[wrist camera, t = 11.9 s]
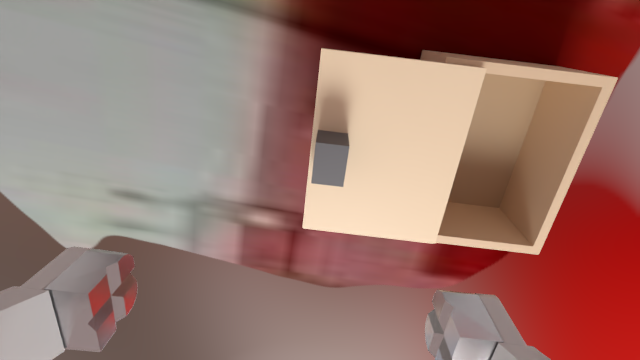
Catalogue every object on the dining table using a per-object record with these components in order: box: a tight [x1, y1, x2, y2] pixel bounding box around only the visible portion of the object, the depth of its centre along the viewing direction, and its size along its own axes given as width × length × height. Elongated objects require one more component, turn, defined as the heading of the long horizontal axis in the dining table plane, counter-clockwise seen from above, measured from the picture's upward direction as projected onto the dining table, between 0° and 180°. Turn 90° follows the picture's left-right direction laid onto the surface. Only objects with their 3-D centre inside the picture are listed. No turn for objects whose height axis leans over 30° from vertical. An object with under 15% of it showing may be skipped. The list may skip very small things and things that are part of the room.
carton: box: [420, 50, 618, 254], centre depth 41 cm, size 20×16×10 cm
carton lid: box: [303, 48, 487, 244], centre depth 34 cm, size 19×15×5 cm
